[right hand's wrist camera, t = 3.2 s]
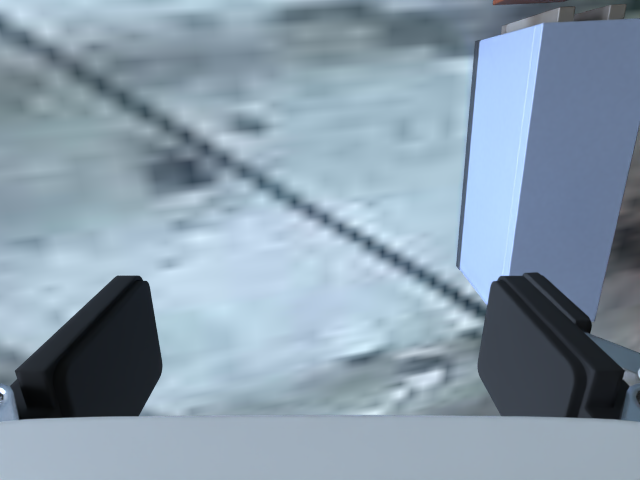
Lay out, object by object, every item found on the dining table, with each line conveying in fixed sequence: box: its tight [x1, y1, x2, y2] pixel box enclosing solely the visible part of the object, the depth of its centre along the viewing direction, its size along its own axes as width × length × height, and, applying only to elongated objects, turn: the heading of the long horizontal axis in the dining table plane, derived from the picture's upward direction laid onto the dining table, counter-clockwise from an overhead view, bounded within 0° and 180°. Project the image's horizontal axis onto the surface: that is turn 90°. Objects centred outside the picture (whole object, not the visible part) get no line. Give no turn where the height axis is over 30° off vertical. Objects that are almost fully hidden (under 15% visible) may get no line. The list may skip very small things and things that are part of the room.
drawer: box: [493, 0, 626, 35], centre depth 24 cm, size 21×5×7 cm, turn 2°
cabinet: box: [456, 18, 640, 322], centre depth 27 cm, size 17×6×9 cm, turn 2°
